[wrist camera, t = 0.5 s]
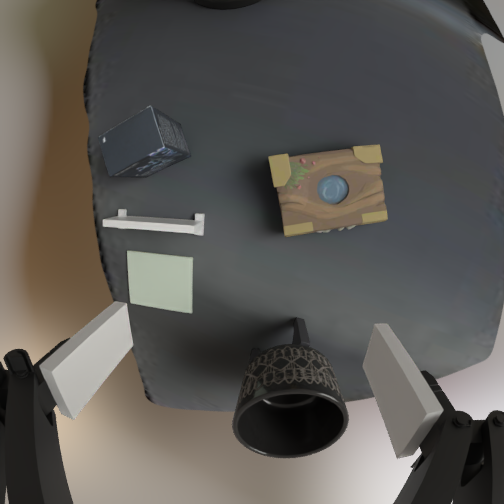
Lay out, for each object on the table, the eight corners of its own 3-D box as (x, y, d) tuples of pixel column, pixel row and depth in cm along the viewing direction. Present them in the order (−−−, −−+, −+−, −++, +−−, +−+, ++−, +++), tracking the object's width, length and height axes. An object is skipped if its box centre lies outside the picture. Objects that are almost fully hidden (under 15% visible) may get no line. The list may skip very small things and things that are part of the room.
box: (146, 178, 38) (107, 177, 27) (136, 145, 37) (96, 136, 26) (193, 156, 36) (164, 147, 26) (181, 122, 35) (150, 103, 25)
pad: (128, 250, 40) (127, 250, 40) (192, 257, 40) (192, 257, 39) (131, 302, 43) (130, 303, 42) (192, 312, 42) (191, 313, 42)
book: (368, 147, 34) (381, 142, 30) (380, 222, 37) (393, 227, 32) (268, 160, 36) (268, 156, 31) (283, 238, 39) (284, 245, 34)
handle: (120, 209, 39) (102, 212, 34) (204, 213, 38) (194, 217, 33) (120, 227, 40) (103, 233, 35) (203, 234, 39) (193, 241, 34)
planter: (261, 301, 41) (252, 376, 23) (339, 324, 41) (370, 400, 23) (237, 365, 44) (219, 446, 26) (307, 384, 44) (317, 463, 26)
